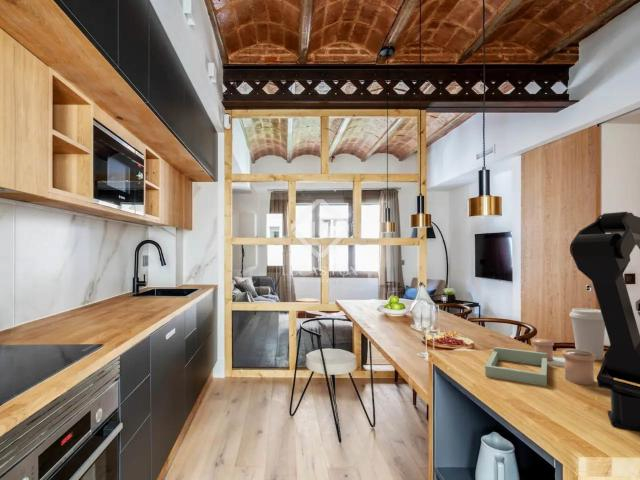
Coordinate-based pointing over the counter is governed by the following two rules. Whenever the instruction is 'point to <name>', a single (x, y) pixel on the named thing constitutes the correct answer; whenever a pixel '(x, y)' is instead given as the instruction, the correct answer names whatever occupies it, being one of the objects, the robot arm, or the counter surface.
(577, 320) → the coffee cup
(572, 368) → the pot
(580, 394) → the counter surface
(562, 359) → the white square board
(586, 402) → the counter surface
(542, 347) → the pot
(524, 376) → the green shallow rectangular frame
